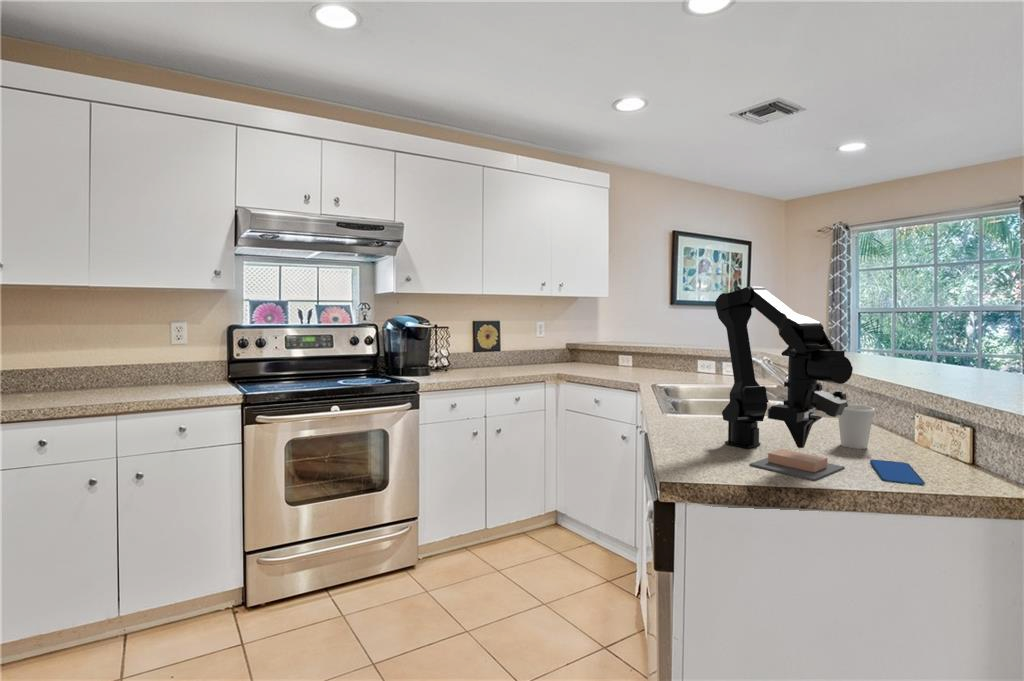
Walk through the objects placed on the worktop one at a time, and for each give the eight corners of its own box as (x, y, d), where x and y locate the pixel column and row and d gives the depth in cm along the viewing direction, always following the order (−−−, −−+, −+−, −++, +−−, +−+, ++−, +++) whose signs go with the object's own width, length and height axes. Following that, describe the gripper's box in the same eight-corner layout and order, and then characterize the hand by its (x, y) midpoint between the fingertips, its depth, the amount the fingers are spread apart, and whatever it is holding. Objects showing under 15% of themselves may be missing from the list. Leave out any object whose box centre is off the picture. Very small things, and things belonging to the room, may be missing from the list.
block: (781, 458, 128) (767, 462, 124) (781, 448, 127) (768, 453, 124) (827, 467, 120) (814, 473, 116) (827, 458, 120) (814, 462, 116)
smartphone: (882, 479, 112) (869, 459, 125) (882, 484, 112) (868, 463, 126) (926, 484, 109) (908, 462, 122) (926, 489, 109) (908, 467, 123)
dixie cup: (829, 445, 140) (831, 406, 140) (841, 440, 146) (842, 402, 145) (867, 452, 134) (869, 411, 133) (878, 446, 140) (879, 406, 139)
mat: (749, 465, 123) (749, 463, 123) (781, 454, 132) (781, 453, 132) (814, 480, 112) (814, 479, 112) (844, 468, 120) (844, 466, 120)
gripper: (821, 385, 110) (819, 463, 110) (860, 378, 121) (858, 448, 122) (767, 380, 118) (765, 451, 119) (807, 373, 130) (806, 439, 131)
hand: (800, 447), depth 123 cm, fingers closed
